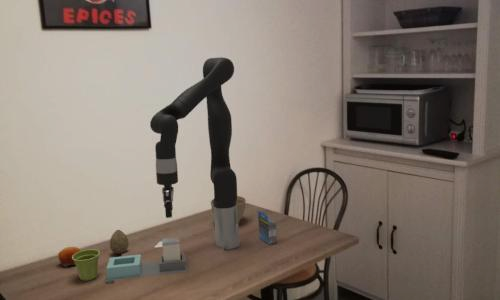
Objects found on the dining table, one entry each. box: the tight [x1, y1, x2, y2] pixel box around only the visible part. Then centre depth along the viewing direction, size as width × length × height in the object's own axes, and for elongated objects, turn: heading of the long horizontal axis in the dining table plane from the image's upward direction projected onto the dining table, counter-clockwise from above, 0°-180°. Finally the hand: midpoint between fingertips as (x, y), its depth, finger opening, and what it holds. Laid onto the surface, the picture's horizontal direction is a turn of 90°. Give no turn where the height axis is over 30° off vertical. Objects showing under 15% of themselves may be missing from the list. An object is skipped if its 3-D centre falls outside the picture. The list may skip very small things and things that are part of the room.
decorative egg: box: [109, 229, 130, 255], centre depth 184 cm, size 7×7×10 cm
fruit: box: [57, 246, 81, 268], centre depth 177 cm, size 8×8×8 cm
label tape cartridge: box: [257, 210, 277, 245], centre depth 190 cm, size 9×4×12 cm, turn 26°
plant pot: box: [72, 248, 101, 282], centre depth 164 cm, size 9×9×9 cm
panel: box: [105, 252, 188, 285], centre depth 167 cm, size 28×12×5 cm, turn 99°
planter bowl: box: [210, 195, 246, 224], centre depth 213 cm, size 16×16×11 cm
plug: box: [161, 237, 181, 262], centre depth 168 cm, size 6×4×10 cm, turn 99°
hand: (169, 213), depth 167 cm, fingers open, 8 cm apart
